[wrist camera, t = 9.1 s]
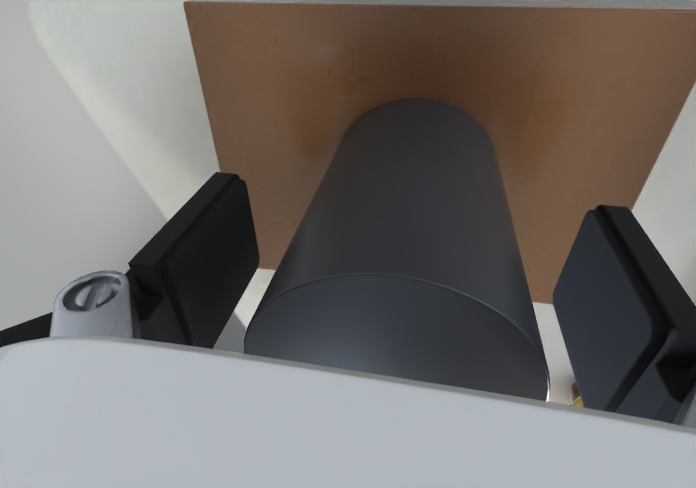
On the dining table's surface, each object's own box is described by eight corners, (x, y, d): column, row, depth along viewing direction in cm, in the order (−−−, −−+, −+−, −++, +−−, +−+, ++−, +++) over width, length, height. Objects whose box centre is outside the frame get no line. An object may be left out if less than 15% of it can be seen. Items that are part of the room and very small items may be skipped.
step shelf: (313, 282, 31) (269, 396, 24) (287, -25, 19) (181, 1, 12) (498, 305, 29) (518, 439, 21) (601, -23, 17) (733, 10, 9)
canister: (336, 235, 16) (264, 435, 9) (331, 92, 12) (215, 253, 6) (480, 250, 15) (507, 482, 8) (516, 101, 11) (604, 300, 5)
